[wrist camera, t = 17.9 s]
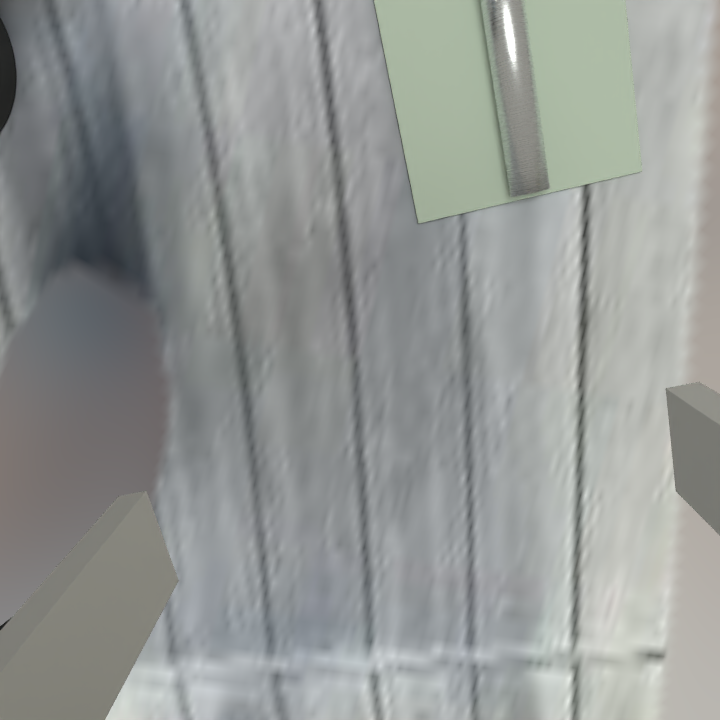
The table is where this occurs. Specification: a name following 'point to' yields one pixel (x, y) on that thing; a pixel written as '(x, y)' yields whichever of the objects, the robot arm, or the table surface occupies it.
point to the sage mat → (478, 104)
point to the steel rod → (516, 95)
